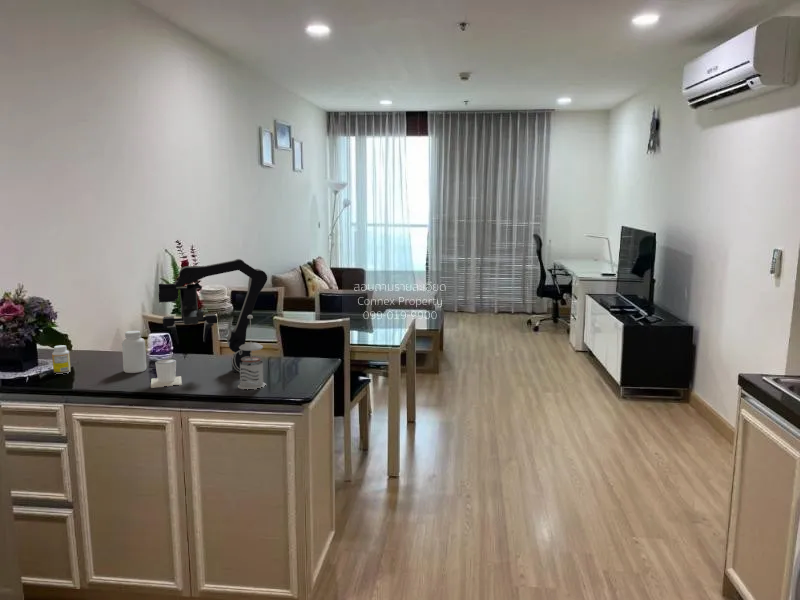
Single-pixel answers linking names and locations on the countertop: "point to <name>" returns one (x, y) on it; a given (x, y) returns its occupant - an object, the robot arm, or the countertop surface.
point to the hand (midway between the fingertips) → (191, 343)
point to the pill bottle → (133, 352)
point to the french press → (247, 380)
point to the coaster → (157, 384)
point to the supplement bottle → (61, 359)
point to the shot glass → (166, 370)
